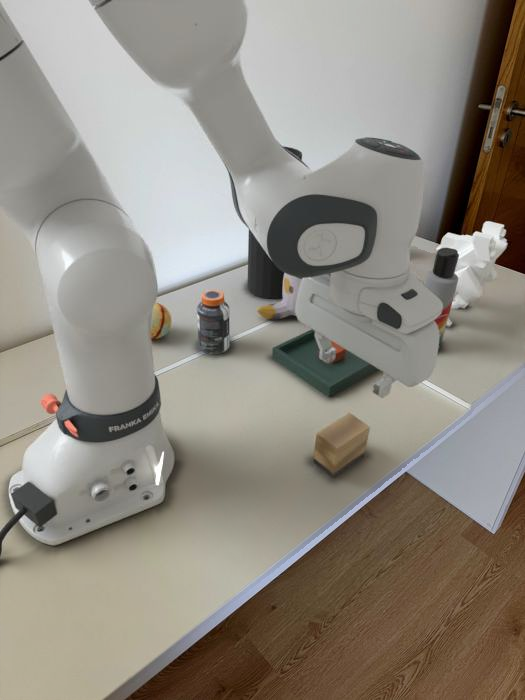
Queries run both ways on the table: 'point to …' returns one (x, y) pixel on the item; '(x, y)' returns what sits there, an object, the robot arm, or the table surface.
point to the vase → (264, 265)
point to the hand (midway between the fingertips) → (352, 376)
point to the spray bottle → (443, 283)
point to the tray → (320, 364)
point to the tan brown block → (340, 444)
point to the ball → (160, 321)
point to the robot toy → (475, 261)
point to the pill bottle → (213, 323)
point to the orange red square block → (337, 352)
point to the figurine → (283, 300)
